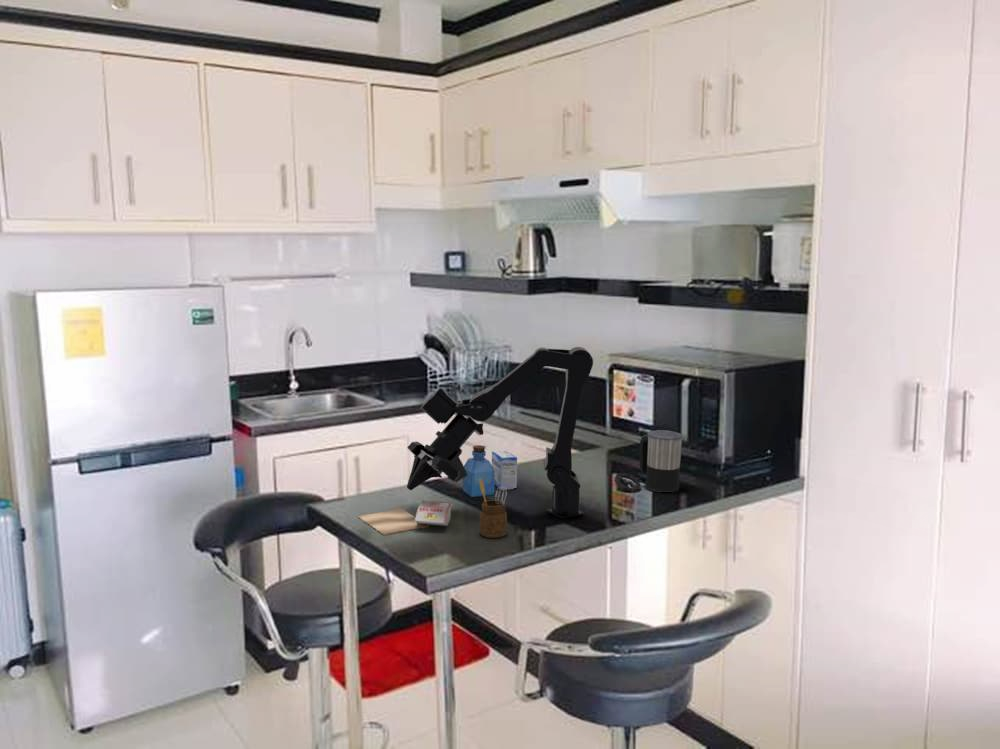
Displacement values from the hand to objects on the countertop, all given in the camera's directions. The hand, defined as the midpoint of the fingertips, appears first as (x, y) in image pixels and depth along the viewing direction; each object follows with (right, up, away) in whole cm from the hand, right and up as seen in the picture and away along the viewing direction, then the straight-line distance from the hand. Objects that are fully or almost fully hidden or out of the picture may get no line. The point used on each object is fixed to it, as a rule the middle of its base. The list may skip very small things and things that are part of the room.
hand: (408, 488), depth 187 cm
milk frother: (+60, -4, +29) cm, 67 cm away
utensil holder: (+19, -9, -8) cm, 23 cm away
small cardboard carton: (+6, -5, +2) cm, 8 cm away
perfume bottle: (+15, -4, +23) cm, 28 cm away
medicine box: (+22, -3, +30) cm, 37 cm away
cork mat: (-3, -7, -1) cm, 8 cm away
